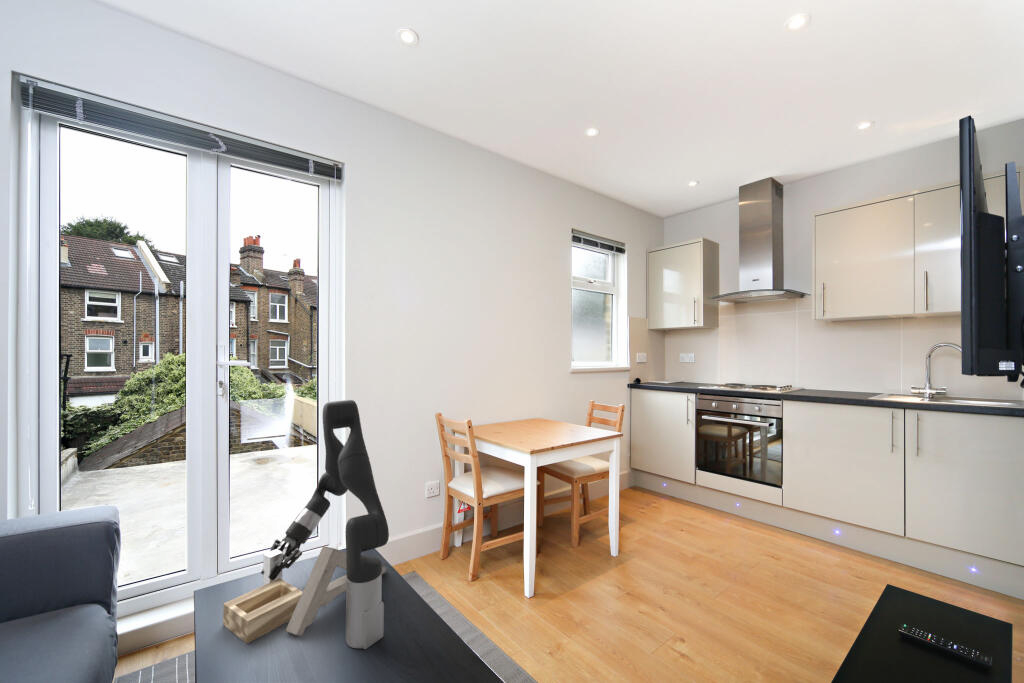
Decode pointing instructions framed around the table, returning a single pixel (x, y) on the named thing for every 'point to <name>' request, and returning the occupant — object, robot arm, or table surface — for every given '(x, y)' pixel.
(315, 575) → the grey letter a
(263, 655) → the table surface
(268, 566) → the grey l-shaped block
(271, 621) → the beech well block
